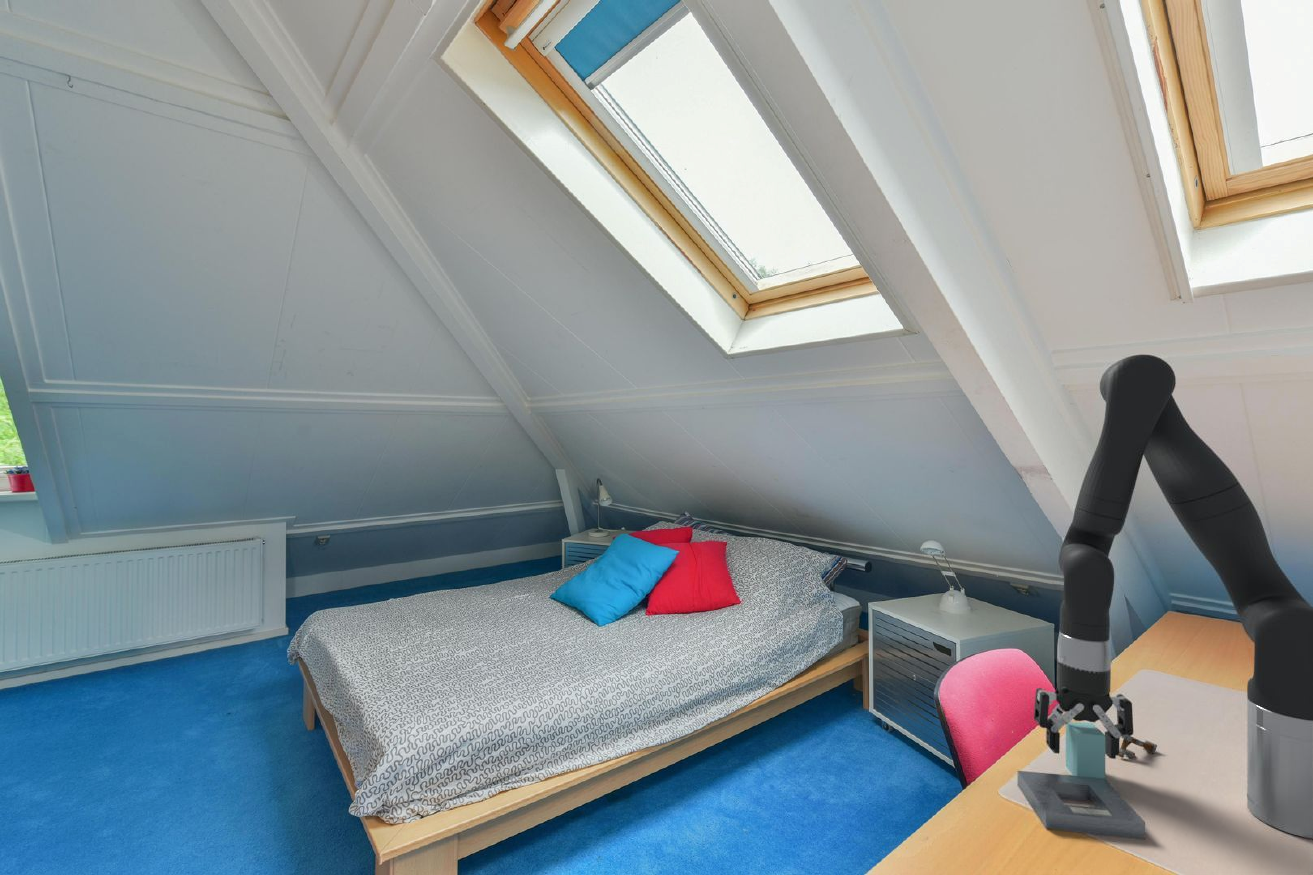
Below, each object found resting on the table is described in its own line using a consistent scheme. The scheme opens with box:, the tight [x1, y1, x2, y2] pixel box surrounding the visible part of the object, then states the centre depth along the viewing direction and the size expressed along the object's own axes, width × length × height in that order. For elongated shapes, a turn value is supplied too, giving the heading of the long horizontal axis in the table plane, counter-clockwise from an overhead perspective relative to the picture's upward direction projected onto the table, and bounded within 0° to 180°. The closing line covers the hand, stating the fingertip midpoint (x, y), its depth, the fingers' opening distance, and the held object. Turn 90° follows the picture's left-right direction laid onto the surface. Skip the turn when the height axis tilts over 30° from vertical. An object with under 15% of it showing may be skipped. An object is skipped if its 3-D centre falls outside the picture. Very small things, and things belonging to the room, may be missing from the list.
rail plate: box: [1017, 770, 1146, 840], centre depth 94 cm, size 13×11×3 cm
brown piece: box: [1118, 735, 1158, 758], centre depth 109 cm, size 2×8×4 cm, turn 108°
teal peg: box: [1065, 721, 1106, 779], centre depth 104 cm, size 4×4×8 cm
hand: (1081, 753), depth 104 cm, fingers open, 8 cm apart
